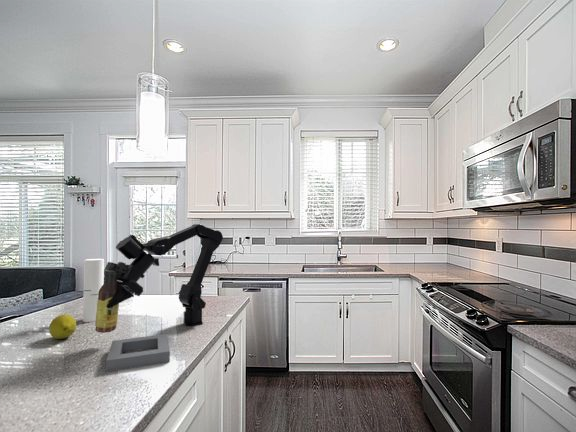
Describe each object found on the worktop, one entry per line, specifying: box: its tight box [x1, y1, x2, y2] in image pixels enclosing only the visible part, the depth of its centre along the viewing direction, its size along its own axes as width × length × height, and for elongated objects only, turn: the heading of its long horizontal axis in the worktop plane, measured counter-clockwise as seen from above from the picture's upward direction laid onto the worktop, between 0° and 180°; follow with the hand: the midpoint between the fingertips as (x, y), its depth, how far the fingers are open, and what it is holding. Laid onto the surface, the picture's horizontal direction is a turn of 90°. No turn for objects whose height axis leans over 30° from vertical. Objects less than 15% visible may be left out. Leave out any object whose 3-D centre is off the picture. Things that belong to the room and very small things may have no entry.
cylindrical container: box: [82, 258, 105, 323], centre depth 132 cm, size 7×7×25 cm
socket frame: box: [105, 333, 171, 373], centre depth 95 cm, size 16×16×3 cm
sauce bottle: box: [95, 268, 120, 334], centre depth 103 cm, size 6×6×20 cm
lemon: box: [48, 314, 77, 340], centre depth 110 cm, size 11×8×8 cm
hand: (103, 305), depth 102 cm, fingers closed on sauce bottle, 6 cm apart
